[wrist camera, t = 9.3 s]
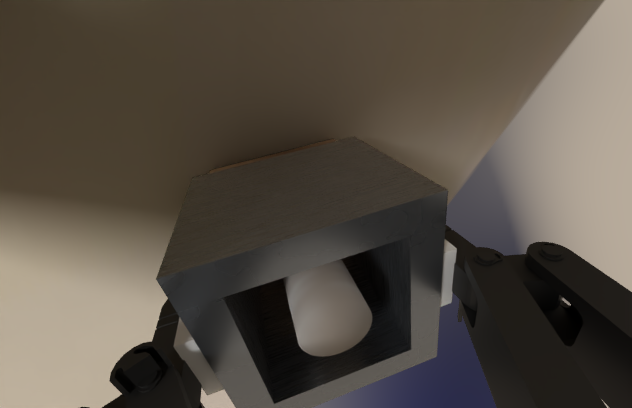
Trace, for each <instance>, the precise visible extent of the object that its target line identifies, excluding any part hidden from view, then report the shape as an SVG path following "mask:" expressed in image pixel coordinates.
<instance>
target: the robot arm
mask: <svg viewBox="0 0 632 408" xmlns="http://www.w3.org/2000/svg"><path fill="white" fill-rule="evenodd" d="M452 293H454V294H455V295H456V296H457V297H458V298H459V299H460V302H459V310H458V322H461V321H462V316H463V318H464V321H465V324H466V326H467V329H468V332H469V335H470V337H471V340H472V343H473V345H474V348H475V350H476V353H477V356H478V359H479V361H480V364H481V367H482V369H483V372H484V375H485V377H486V380H487V383H488V385H489V388H490V391H491V394H492V396H493V399H494V402H495V404H496V407H497V408H607V407H606V406H605V404H604V403H603V401H604V402H605V403H606V404H607V405H608V406H609V407H610V408H632V292H631V291H629V290H628V289H626V288H625V287H623V286H622V285H620V284H619V283H617V282H616V281H615V280H613V279H612V278H610V277H609V276H607V275H605V274H604V273H603V272H601V271H600V270H598V269H597V268H595V267H594V266H592V265H591V264H590V263H588V262H587V261H585V260H584V259H582V258H581V257H579V256H578V255H576V254H575V253H574V252H572V251H571V250H569V249H567V248H565V247H563V246H561V245H558V244H554V243H549V242H536V243H533V244H531V245H530V246H529V247H528V249H527V252H526V254H522V255H509V256H504V255H503V254H501V253H500V252H498V251H496V250H493V249H490V248H482V247H475V246H474V245H473V244H471V243H470V242H468V241H467V240H466V239H464V238H463V237H462V236H460V235H459V234H458V233H456V232H455V231H454V230H451V228H449V227H448V226H447V225H446V226H445V241H444V256H443V271H442V286H441V301H440V307H442V306H444V305H447V304H450V303H452ZM562 298H565V299H566V300H567V301H568V302H569V303H570V304H571V306H569V305H567V304H566V303H565V302H564V301H562ZM156 328H157V330H155V334H154V337H153V340H152V342H146V343H142V344H140V345H138V346H136V347H134V348H132V349H131V350H130V351H128V352H127V353H126V354H124V355H123V356H122V358H121V359H120V360H119V361H118V362H117V363H116V365H115V366H114V368H113V370H112V372H111V375H110V382H111V383H112V384H113V385H114V386H115V387H116V388H117V389H118V390H119V391H120V392H121V393H122V395H120V396H119V397H118V398H116V399H115V400H113V401H111V402H110V403H108V404H107V405H105V406H104V407H102V408H205V407H204V406H203V404H202V403H201V402H200V397H201V387H202V388H203V390H204V391H205V393H206V394H207V395H210V394H212V393H215V392H218V391H220V390H223V389H224V388H223V386H222V385H221V383H220V381H219V380H218V378H217V377H216V375H215V373H214V372H213V370H212V368H211V367H210V365H209V364H208V362H207V360H206V359H205V357H204V356H203V354H202V352H201V351H200V349H199V347H198V346H197V344H196V343H195V341H194V339H193V338H192V336H191V335H190V333H189V331H188V330H187V328H186V326H185V325H184V323H183V322H182V320H181V318H180V317H179V315H178V314H177V312H176V310H175V309H174V307H173V305H172V304H171V302H170V301H169V299H168V300H167V301H166V302H165V304H164V305H163V307H162V309H161V313H160V316H159V320H158V323H157V327H156ZM601 399H602V400H603V401H602V400H601ZM80 408H89V407H80Z"/></svg>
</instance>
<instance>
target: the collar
mask: <svg viewBox="0 0 632 408" xmlns="http://www.w3.org/2000/svg"><path fill="white" fill-rule="evenodd" d="M447 196H448V190H447V189H445V188H443V187H442V186H440V185H438V184H436V183H435V182H433V181H431V180H429V179H428V178H426V177H424V176H422V175H421V174H419V173H417V172H415V171H414V170H412V169H410V168H408V167H406V166H405V165H403V164H401V163H399V162H398V161H396V160H394V159H392V158H391V157H389V156H387V155H385V154H384V153H382V152H380V151H378V150H377V149H375V148H373V147H371V146H370V145H368V144H366V143H364V142H363V141H361V140H359V139H357V138H355V137H350V138H346V139H342V140H338V141H335V142H331V143H327V144H323V145H319V146H315V147H311V148H307V149H303V150H299V151H295V152H291V153H288V154H284V155H280V156H276V157H272V158H268V159H264V160H260V161H256V162H252V163H248V164H245V165H241V166H237V167H233V168H229V169H225V170H221V171H217V172H213V173H209V174H205V175H201V176H198V177H194V178H192V181H191V183H190V186H189V189H188V192H187V195H186V197H185V200H184V203H183V206H182V208H181V211H180V214H179V217H178V220H177V222H176V225H175V228H174V231H173V233H172V236H171V239H170V242H169V245H168V247H167V250H166V253H165V256H164V259H163V261H162V264H161V267H160V270H159V272H158V275H157V278H156V280H157V281H158V283H159V285H160V286H161V288H162V289H163V291H164V293H165V294H166V296H167V297H168V299H169V301H170V302H171V304H172V305H173V307H174V309H175V310H176V312H177V314H178V315H179V317H180V318H181V320H182V322H183V323H184V325H185V326H186V328H187V330H188V331H189V333H190V335H191V336H192V338H193V339H194V341H195V343H196V344H197V346H198V347H199V349H200V351H201V352H202V354H203V356H204V357H205V359H206V360H207V362H208V364H209V365H210V367H211V368H212V370H213V372H214V373H215V375H216V377H217V378H218V380H219V381H220V383H221V385H222V386H223V388H224V389H225V391H226V393H227V394H228V396H229V397H230V399H231V401H232V402H233V404H234V406H235V407H236V408H312V407H315V406H317V405H319V404H322V403H324V402H327V401H329V400H332V399H334V398H337V397H339V396H342V395H344V394H346V393H349V392H351V391H354V390H356V389H359V388H361V387H364V386H366V385H368V384H371V383H373V382H376V381H378V380H381V379H383V378H385V377H388V376H390V375H393V374H395V373H398V372H400V371H403V370H405V369H408V368H410V367H413V366H415V365H418V364H420V363H422V362H425V361H427V360H430V359H432V358H434V357H437V345H438V330H439V315H440V301H441V286H442V271H443V256H444V241H445V226H446V225H445V224H446V211H447ZM339 259H342V261H343V263H344V264H345V266H346V268H347V270H348V271H349V273H350V275H351V277H352V278H353V280H354V282H355V284H356V286H357V287H358V289H359V291H360V293H361V294H362V296H363V298H364V300H365V301H366V303H367V305H368V307H369V308H370V310H371V313H372V324H371V327H370V329H369V331H368V332H367V334H366V335H365V336H364V338H363V339H362V340H361V341H360V342H358V343H357V344H356V345H355V346H353V347H352V348H350V349H348V350H346V351H344V352H342V353H339V354H336V355H332V356H314V355H310V354H308V353H306V352H305V351H303V350H302V349H301V347H300V346H299V344H298V340H297V336H296V332H295V327H294V323H293V319H292V315H291V311H290V307H289V302H288V298H287V294H286V290H285V286H284V282H283V278H284V277H287V276H290V275H293V274H296V273H299V272H303V271H306V270H309V269H312V268H315V267H318V266H321V265H324V264H327V263H330V262H333V261H336V260H339Z"/></svg>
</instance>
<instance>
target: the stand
mask: <svg viewBox="0 0 632 408" xmlns="http://www.w3.org/2000/svg"><path fill="white" fill-rule="evenodd" d="M335 141H336V140H335V139H331V140H327V141H323V142H319V143H315V144H311V145H307V146H303V147H299V148H295V149H291V150H287V151H284V152H280V153H276V154H272V155H268V156H264V157H260V158H256V159H252V160H248V161H244V162H240V163H237V164H233V165H229V166H225V167H221V168H217V169H213V170H210V172H209V173H213V172H217V171H221V170H225V169H229V168H233V167H237V166H241V165H245V164H248V163H252V162H256V161H260V160H264V159H268V158H272V157H276V156H280V155H284V154H288V153H291V152H295V151H299V150H303V149H307V148H311V147H315V146H319V145H323V144H327V143H331V142H335ZM283 282H284V286H285V290H286V294H287V298H288V302H289V307H290V311H291V315H292V319H293V323H294V327H295V332H296V336H297V340H298V344H299V346H300V347H301V349H302V350H303V351H305V352H306V353H308V354H310V355H314V356H332V355H336V354H339V353H342V352H344V351H346V350H348V349H350V348H352V347H353V346H355V345H356V344H357V343H358V342H360V341H361V340H362V339H363V338H364V336H365V335H366V334H367V332H368V331H369V329H370V327H371V324H372V313H371V310H370V308H369V307H368V305H367V303H366V301H365V300H364V298H363V296H362V294H361V293H360V291H359V289H358V287H357V286H356V284H355V282H354V280H353V278H352V277H351V275H350V273H349V271H348V270H347V268H346V266H345V264H344V263H343V261H342V259H339V260H336V261H333V262H330V263H327V264H324V265H321V266H318V267H315V268H312V269H309V270H306V271H303V272H299V273H296V274H293V275H290V276H287V277H284V278H283Z"/></svg>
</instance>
